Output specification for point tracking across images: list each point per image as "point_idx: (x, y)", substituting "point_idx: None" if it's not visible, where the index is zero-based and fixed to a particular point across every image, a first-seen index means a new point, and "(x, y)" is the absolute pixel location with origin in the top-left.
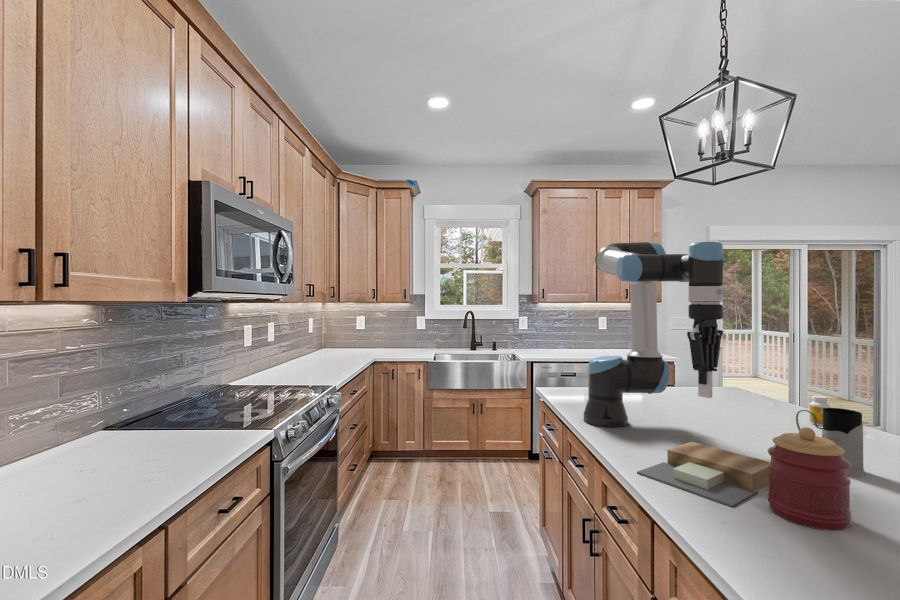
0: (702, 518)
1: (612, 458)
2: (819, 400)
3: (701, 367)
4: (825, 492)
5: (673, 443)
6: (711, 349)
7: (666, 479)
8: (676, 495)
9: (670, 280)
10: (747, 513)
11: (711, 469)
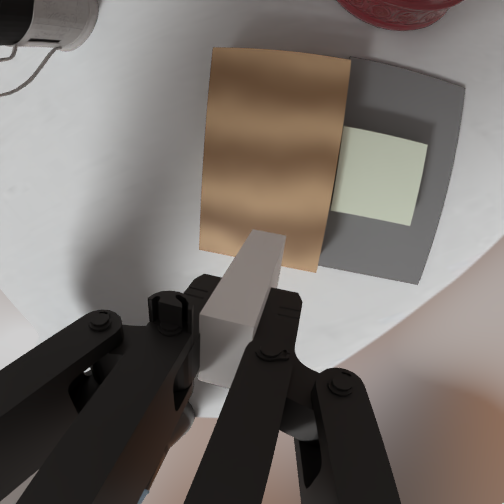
0: None
1: (361, 344)
2: None
3: (360, 397)
4: None
5: (163, 288)
6: (94, 498)
7: (424, 225)
8: (479, 187)
9: None
10: (467, 63)
11: (349, 154)
